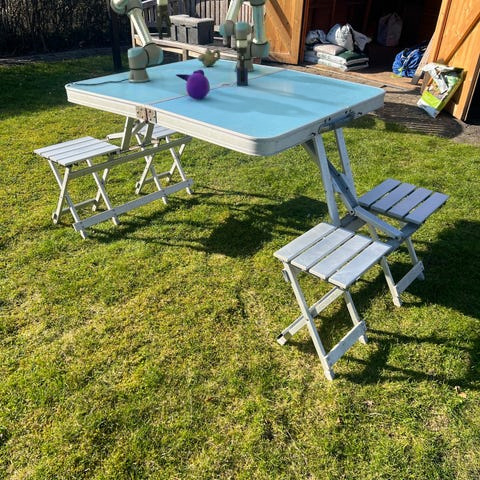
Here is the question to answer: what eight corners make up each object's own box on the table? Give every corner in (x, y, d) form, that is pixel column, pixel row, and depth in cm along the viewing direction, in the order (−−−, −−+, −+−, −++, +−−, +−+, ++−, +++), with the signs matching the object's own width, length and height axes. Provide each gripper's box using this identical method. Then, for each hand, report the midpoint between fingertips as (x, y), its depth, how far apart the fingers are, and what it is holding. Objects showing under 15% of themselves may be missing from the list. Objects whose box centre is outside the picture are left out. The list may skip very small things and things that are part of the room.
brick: (247, 84, 322) (247, 66, 316) (247, 85, 318) (247, 68, 312) (236, 84, 322) (236, 67, 316) (237, 86, 318) (236, 68, 312)
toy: (198, 91, 303) (209, 105, 283) (173, 86, 296) (182, 100, 275) (203, 67, 295) (215, 79, 275) (177, 62, 288) (187, 74, 267)
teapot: (201, 68, 381) (200, 49, 373) (195, 66, 389) (194, 48, 382) (223, 65, 390) (222, 47, 382) (217, 64, 399) (216, 45, 391)
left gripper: (165, 3, 317) (167, 36, 328) (149, 5, 297) (152, 40, 308) (174, 3, 315) (177, 36, 326) (159, 5, 295) (162, 40, 306)
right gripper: (235, 44, 317) (236, 77, 328) (237, 49, 297) (237, 83, 308) (246, 44, 317) (246, 77, 328) (248, 49, 297) (248, 83, 308)
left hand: (165, 38), depth 317 cm, fingers open, 13 cm apart
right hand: (242, 80), depth 318 cm, fingers open, 11 cm apart
